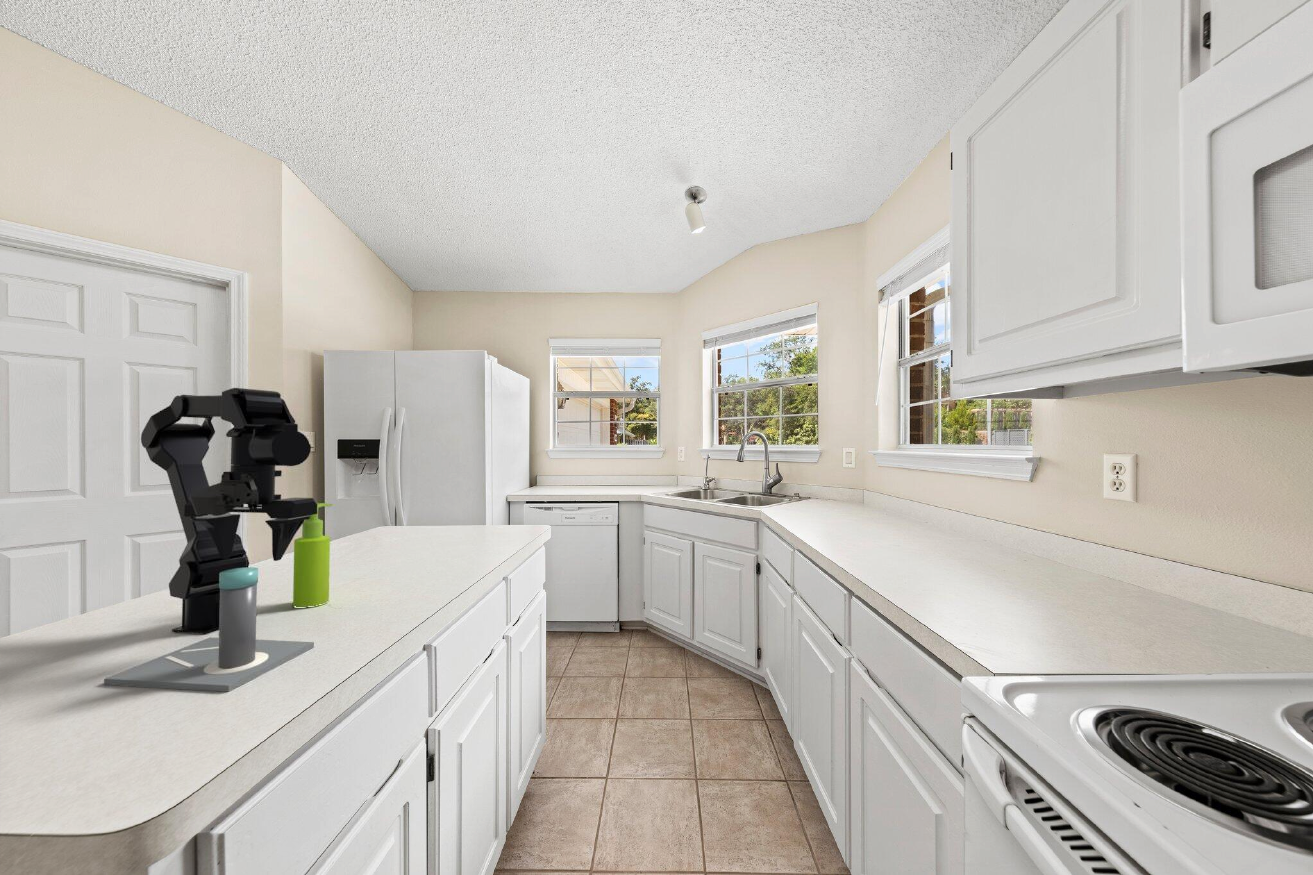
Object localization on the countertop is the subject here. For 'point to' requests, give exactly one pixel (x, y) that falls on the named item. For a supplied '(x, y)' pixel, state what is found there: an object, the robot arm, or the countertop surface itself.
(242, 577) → the marker
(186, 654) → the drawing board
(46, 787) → the countertop surface
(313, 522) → the soap dispenser
